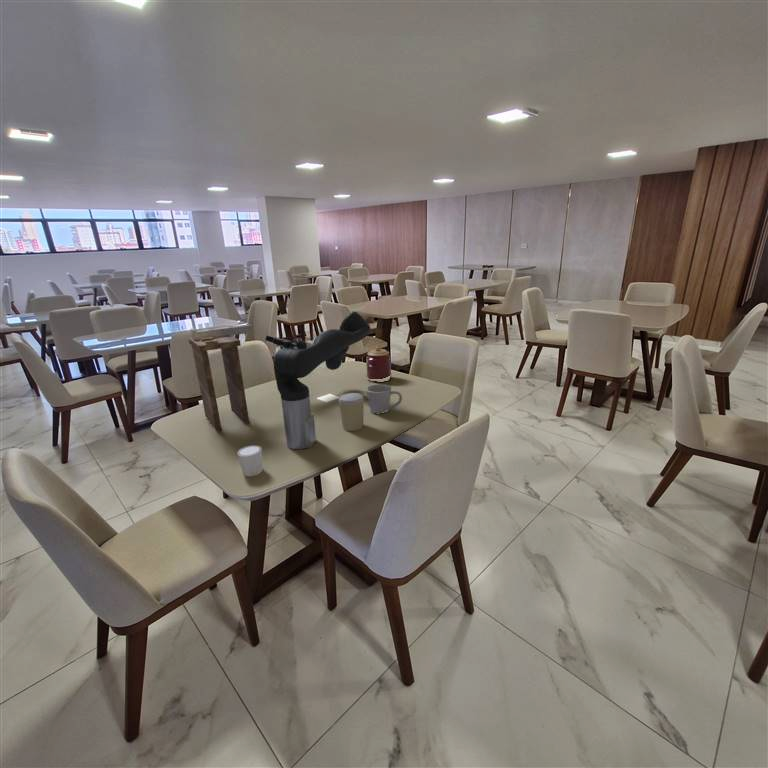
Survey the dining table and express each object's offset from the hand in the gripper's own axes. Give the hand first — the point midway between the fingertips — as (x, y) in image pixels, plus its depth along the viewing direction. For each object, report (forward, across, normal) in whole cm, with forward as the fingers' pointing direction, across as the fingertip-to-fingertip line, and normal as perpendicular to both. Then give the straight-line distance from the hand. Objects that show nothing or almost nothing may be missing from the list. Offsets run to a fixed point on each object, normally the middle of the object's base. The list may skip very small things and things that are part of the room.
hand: (269, 339), depth 161 cm
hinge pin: (+18, 0, -4) cm, 19 cm away
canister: (-62, -3, -3) cm, 62 cm away
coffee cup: (-23, -45, -21) cm, 55 cm away
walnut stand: (+9, -5, -36) cm, 37 cm away
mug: (-40, -40, -13) cm, 58 cm away
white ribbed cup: (+14, -52, -38) cm, 66 cm away
